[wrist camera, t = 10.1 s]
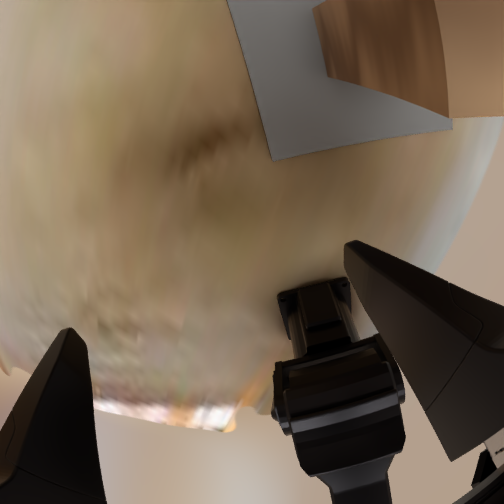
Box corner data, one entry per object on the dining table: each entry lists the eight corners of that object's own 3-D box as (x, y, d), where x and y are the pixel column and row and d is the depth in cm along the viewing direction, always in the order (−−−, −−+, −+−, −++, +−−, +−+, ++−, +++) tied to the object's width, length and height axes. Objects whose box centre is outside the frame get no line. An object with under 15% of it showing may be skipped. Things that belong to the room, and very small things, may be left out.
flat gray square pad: (448, 127, 18) (452, 129, 18) (271, 158, 20) (272, 161, 19) (417, -46, 10) (422, -48, 10) (214, -38, 12) (213, -40, 11)
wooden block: (393, 70, 16) (538, 116, 6) (327, 76, 16) (449, 118, 6) (379, 2, 13) (524, -15, 3) (310, 5, 13) (419, -49, 4)
